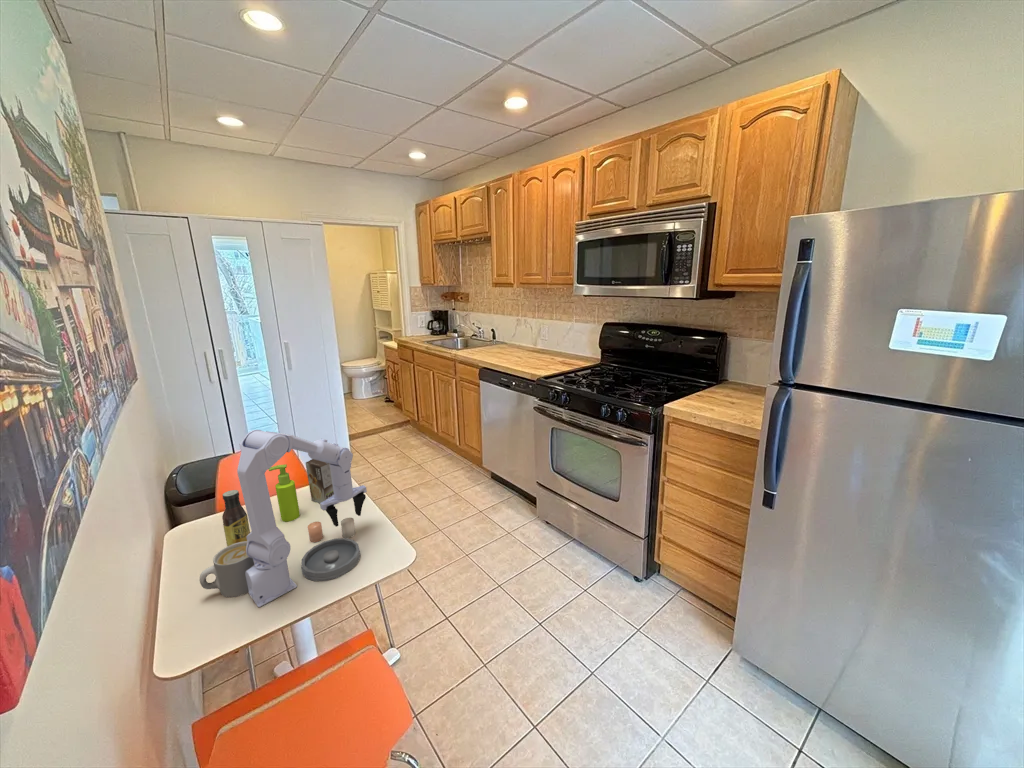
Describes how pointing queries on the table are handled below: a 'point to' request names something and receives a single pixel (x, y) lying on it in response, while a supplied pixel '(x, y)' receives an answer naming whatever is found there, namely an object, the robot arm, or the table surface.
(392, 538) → the table surface
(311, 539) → the terracotta bead
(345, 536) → the cream bead
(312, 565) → the groove tray
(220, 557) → the coffee mug
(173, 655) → the table surface
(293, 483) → the soap dispenser
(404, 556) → the table surface
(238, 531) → the sauce bottle
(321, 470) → the coffee box
